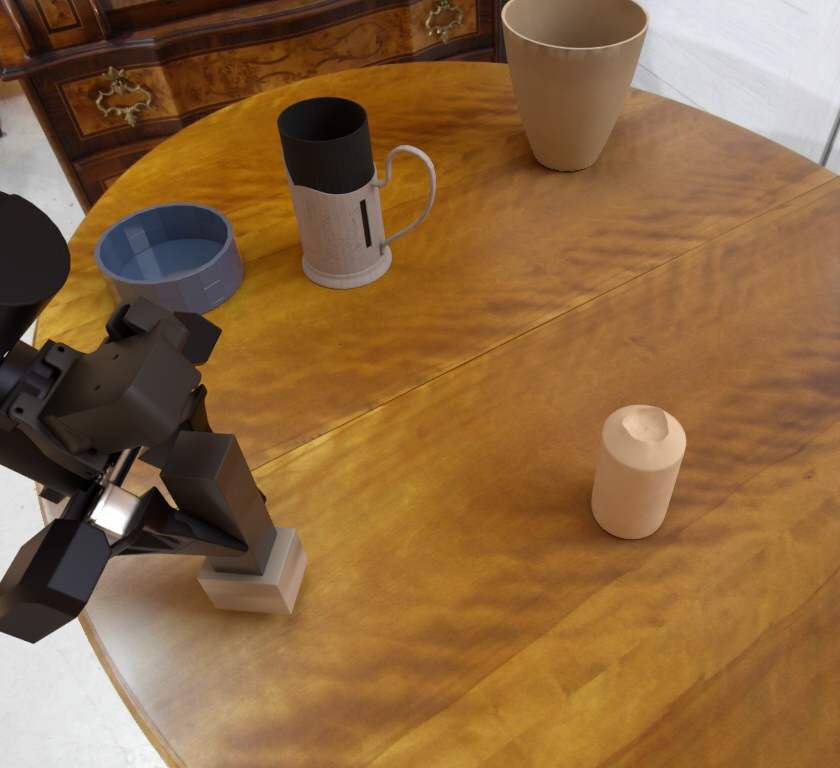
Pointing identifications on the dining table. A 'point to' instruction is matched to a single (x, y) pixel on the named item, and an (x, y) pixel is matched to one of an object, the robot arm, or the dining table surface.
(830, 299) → the dining table surface
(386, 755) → the dining table surface
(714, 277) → the dining table surface
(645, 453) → the candle
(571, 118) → the plant pot
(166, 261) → the bowl
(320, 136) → the glass holder
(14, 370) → the robot arm
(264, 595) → the dark post on base
